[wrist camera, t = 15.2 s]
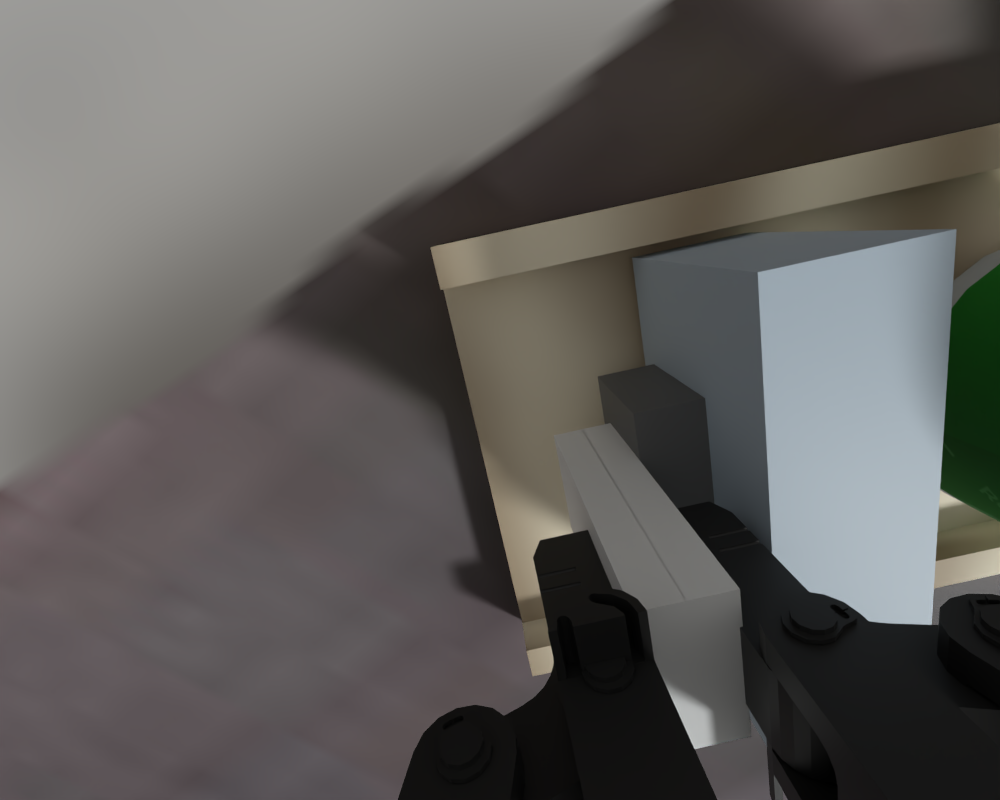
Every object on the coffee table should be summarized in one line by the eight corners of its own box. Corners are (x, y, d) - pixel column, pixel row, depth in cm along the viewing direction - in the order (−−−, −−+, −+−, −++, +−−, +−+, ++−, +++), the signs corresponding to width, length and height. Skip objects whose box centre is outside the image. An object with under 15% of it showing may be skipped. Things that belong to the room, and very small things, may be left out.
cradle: (524, 621, 18) (560, 850, 12) (435, 245, 14) (409, 253, 8) (1186, 476, 18) (1617, 618, 12) (1280, 61, 14) (2020, -98, 8)
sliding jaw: (627, 599, 17) (713, 789, 11) (575, 270, 13) (658, 294, 8) (783, 564, 17) (952, 737, 11) (768, 227, 13) (996, 219, 8)
